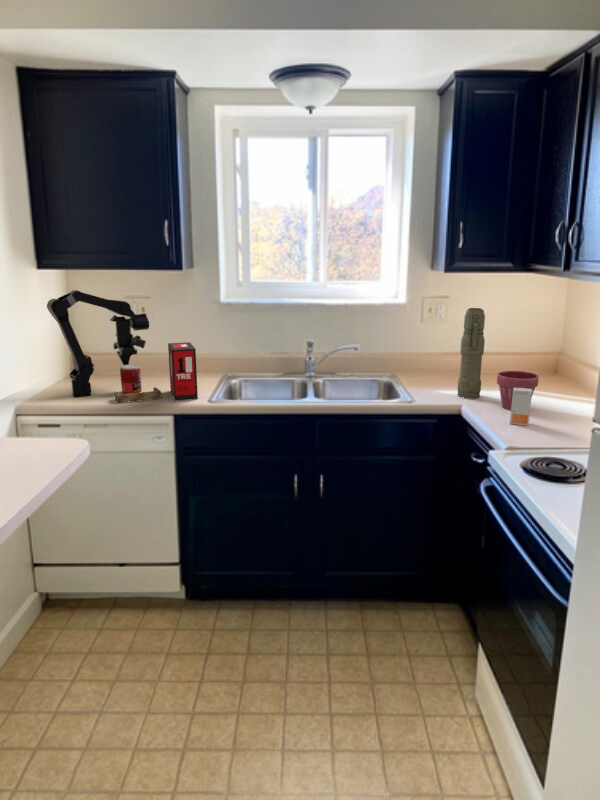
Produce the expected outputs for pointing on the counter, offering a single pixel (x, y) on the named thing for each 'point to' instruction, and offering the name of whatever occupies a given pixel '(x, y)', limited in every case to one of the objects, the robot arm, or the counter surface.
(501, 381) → the plant pot
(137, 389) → the canned food
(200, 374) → the counter surface
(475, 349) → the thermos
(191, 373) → the cleaning product box
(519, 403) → the skincare box
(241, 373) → the counter surface
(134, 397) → the tan bone-shaped block
